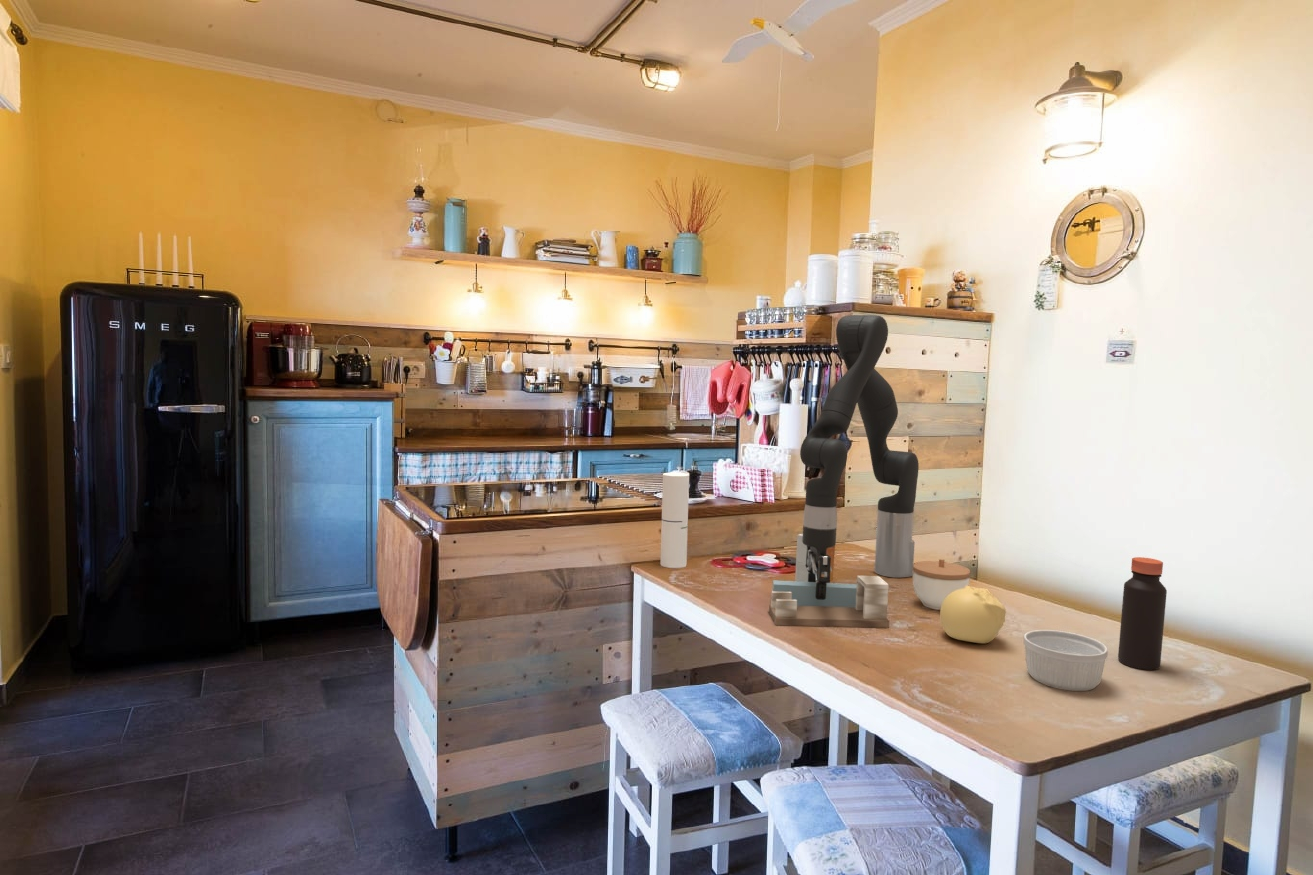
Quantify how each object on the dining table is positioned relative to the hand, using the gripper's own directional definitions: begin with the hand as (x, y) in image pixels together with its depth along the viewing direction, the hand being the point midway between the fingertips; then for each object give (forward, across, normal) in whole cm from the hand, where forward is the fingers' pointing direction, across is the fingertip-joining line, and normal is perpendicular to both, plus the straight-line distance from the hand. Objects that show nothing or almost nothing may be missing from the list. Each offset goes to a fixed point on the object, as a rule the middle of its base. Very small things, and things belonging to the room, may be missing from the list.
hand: (816, 593), depth 176 cm
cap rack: (+3, -11, 0) cm, 11 cm away
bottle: (+3, -33, -54) cm, 63 cm away
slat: (+3, 0, 0) cm, 3 cm away
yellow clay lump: (+3, -21, -27) cm, 34 cm away
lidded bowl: (+3, +1, -29) cm, 29 cm away
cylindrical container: (+3, +33, +32) cm, 46 cm away
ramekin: (+3, -41, -35) cm, 54 cm away
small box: (+3, +16, -3) cm, 17 cm away
